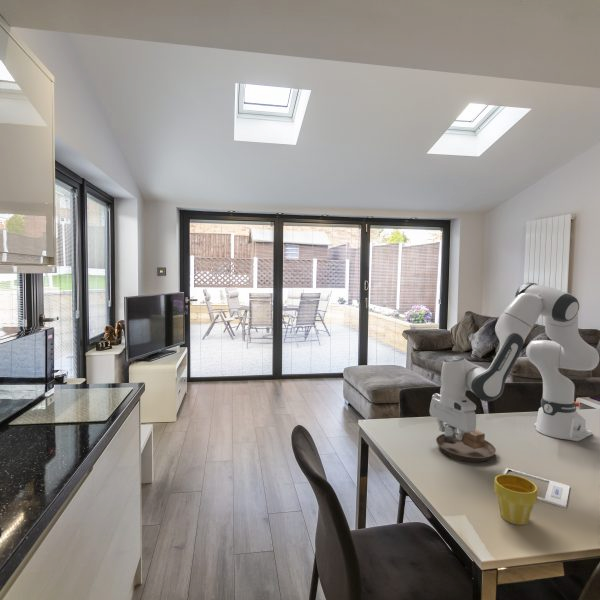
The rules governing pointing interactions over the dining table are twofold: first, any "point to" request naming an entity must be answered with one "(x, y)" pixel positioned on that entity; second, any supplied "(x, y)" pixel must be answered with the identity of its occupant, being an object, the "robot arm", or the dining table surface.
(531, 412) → the dining table surface
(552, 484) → the photo frame
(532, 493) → the plant pot
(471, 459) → the plant saucer
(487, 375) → the robot arm
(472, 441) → the walnut block
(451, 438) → the grey metal peg
